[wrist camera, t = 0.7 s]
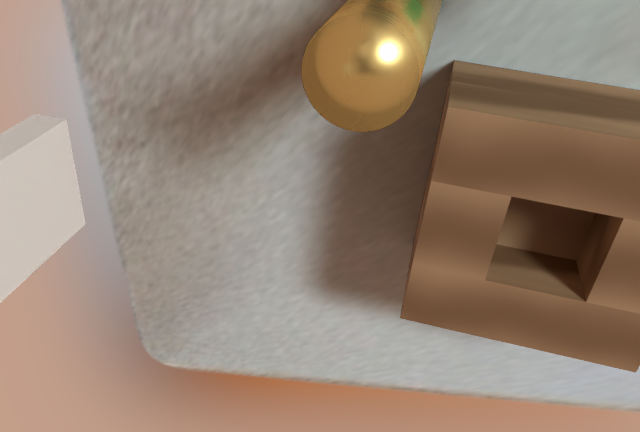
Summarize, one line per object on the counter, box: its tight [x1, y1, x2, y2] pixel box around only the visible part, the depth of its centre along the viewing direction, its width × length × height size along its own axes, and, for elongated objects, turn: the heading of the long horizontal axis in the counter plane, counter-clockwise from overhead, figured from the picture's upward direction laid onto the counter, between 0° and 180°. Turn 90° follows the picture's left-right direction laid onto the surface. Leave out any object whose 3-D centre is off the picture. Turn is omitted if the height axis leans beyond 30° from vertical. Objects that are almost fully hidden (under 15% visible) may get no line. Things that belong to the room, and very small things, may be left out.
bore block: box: [400, 60, 640, 372], centre depth 30 cm, size 12×12×7 cm
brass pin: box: [301, 0, 442, 132], centre depth 23 cm, size 4×4×14 cm
